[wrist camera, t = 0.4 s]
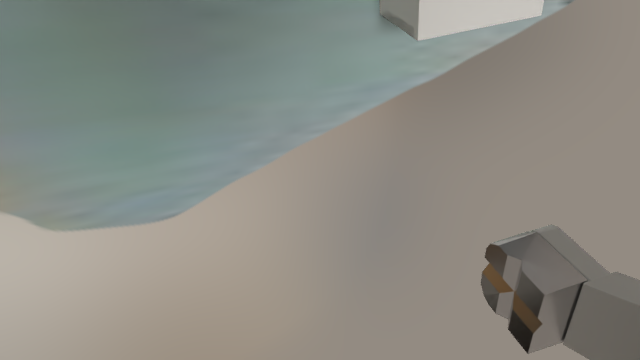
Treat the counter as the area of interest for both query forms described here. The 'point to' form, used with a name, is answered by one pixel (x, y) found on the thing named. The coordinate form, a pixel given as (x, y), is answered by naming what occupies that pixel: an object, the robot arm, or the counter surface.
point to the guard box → (454, 14)
